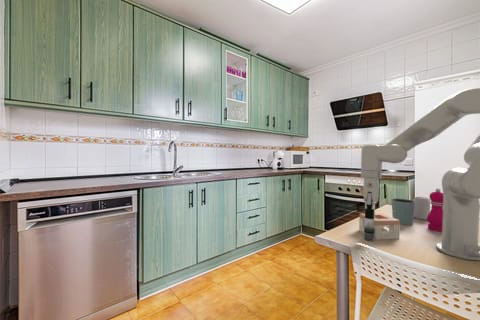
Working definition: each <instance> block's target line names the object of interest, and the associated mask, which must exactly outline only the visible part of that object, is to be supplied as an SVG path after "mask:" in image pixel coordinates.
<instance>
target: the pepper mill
mask: <svg viewBox="0 0 480 320" xmlns="http://www.w3.org/2000/svg"><path fill="white" fill-rule="evenodd" d="M428 198H429V200H430V205H431V207H430V213H429V214H428V216H427V220H426V222H427V223H428V224H427V229H428V230H430V231H434V232H440V233H442V221H443V192H441V189H440V188H436V189H435V191H432V192H431V193H430V194H429V196H428Z"/></svg>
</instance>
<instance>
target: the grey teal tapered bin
mask: <svg viewBox="0 0 480 320" xmlns="http://www.w3.org/2000/svg"><path fill="white" fill-rule="evenodd" d="M414 207H415V201H413V199H412V200H411V199H406V198H391V210H392V211H391V212H392V216H391V217H392V218H395V219H398V220H400V226H401V225H403V226H413V224H414V215H413V214H414Z"/></svg>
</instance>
